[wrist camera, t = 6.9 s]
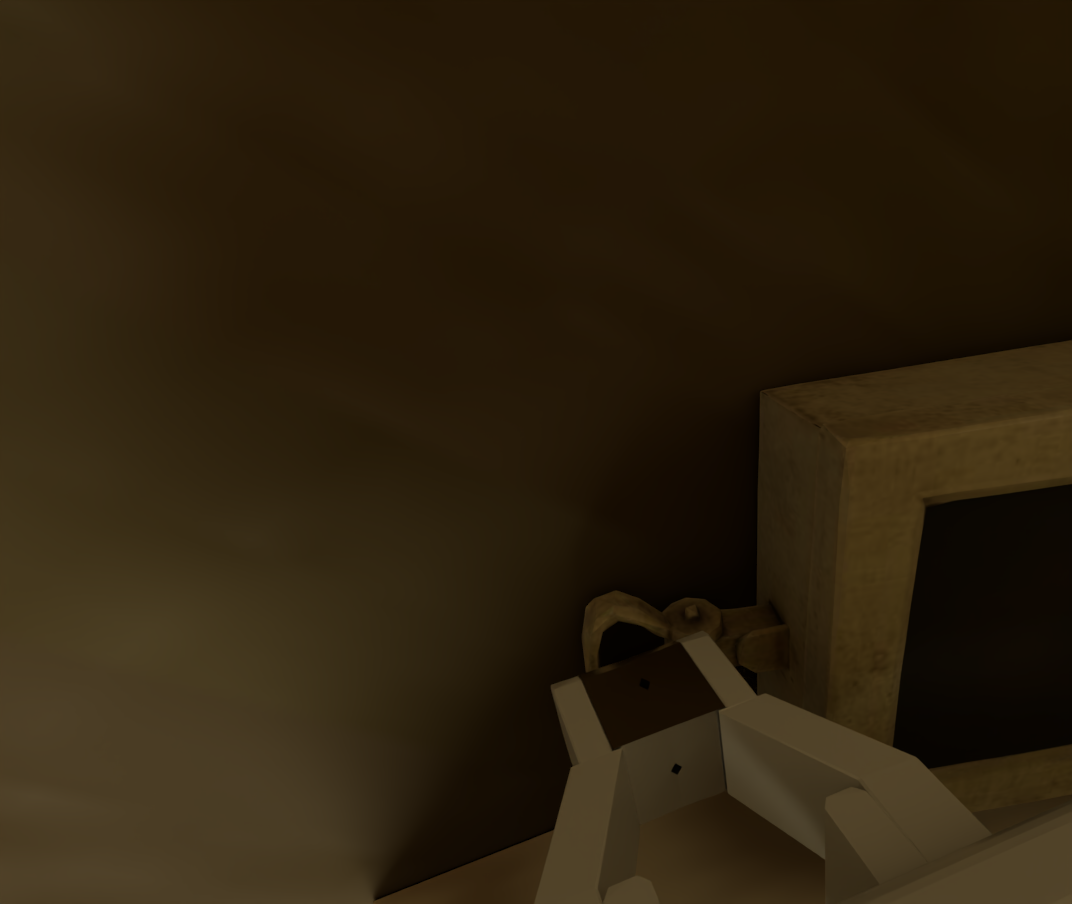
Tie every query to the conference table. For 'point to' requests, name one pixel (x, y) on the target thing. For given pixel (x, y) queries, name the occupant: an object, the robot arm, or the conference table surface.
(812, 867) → the shelf
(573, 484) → the conference table surface
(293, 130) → the conference table surface
